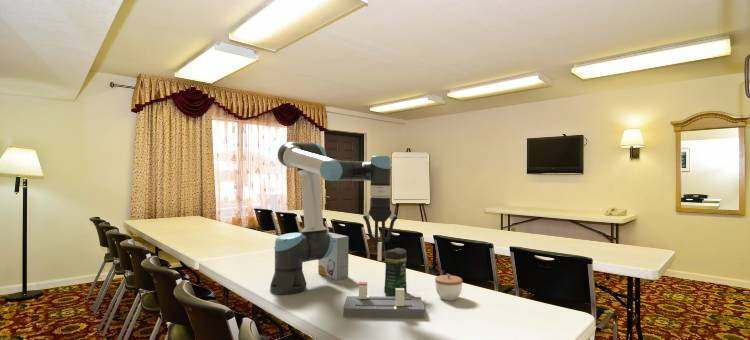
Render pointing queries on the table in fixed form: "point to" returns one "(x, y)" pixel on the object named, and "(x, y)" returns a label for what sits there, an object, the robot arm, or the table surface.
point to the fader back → (362, 290)
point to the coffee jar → (395, 271)
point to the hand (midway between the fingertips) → (379, 260)
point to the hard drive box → (336, 259)
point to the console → (383, 307)
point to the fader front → (399, 297)
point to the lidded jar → (448, 286)
